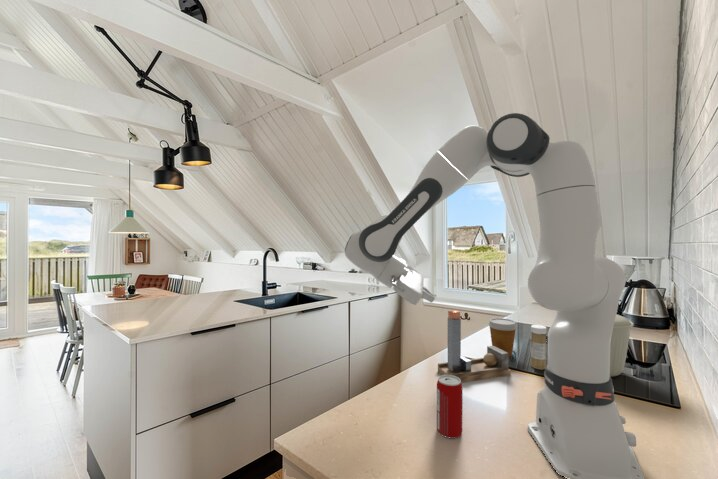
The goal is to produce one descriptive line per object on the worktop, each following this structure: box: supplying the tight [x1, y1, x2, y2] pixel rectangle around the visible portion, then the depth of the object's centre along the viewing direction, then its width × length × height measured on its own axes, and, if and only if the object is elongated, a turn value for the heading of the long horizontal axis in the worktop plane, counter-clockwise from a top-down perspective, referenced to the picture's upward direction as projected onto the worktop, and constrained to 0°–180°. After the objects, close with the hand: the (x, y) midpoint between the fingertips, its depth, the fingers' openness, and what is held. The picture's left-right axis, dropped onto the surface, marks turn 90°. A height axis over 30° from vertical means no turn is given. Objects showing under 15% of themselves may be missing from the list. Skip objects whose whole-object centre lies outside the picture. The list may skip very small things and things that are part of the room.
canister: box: [610, 314, 635, 378], centre depth 105 cm, size 18×18×21 cm
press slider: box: [447, 309, 471, 372], centre depth 102 cm, size 6×6×18 cm
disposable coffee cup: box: [488, 317, 518, 358], centre depth 119 cm, size 10×10×12 cm
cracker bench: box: [437, 345, 512, 383], centre depth 103 cm, size 20×9×6 cm, turn 106°
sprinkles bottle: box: [530, 324, 548, 370], centre depth 108 cm, size 5×5×13 cm
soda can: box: [436, 374, 463, 439], centre depth 73 cm, size 6×6×12 cm
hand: (433, 299), depth 96 cm, fingers closed
